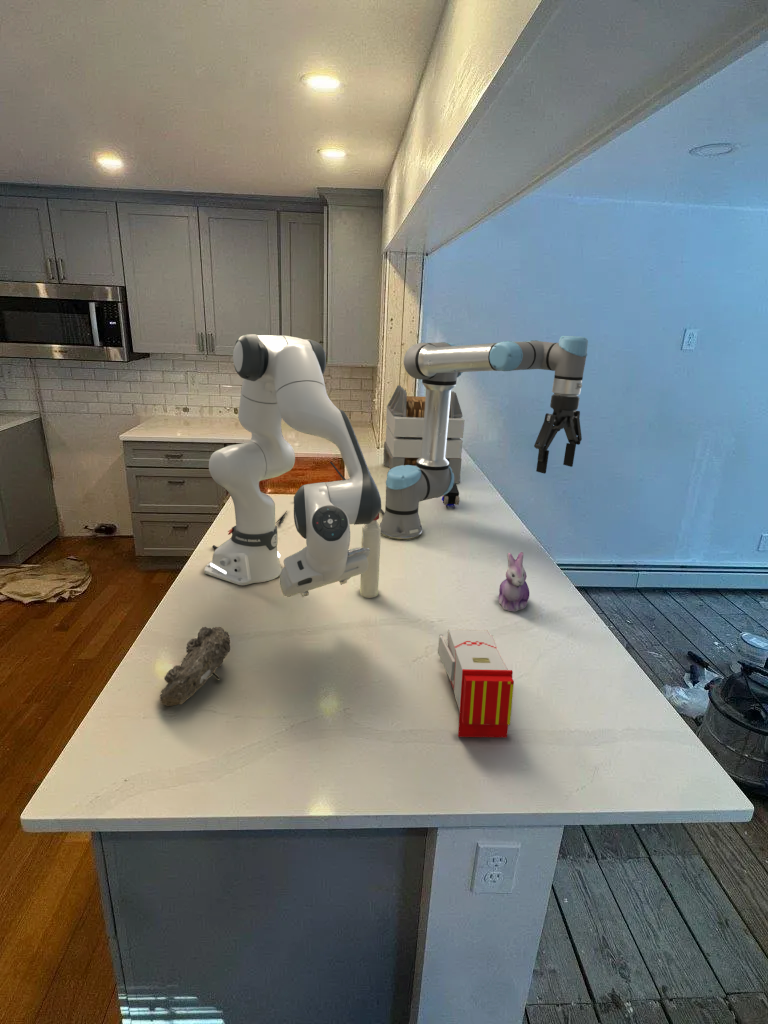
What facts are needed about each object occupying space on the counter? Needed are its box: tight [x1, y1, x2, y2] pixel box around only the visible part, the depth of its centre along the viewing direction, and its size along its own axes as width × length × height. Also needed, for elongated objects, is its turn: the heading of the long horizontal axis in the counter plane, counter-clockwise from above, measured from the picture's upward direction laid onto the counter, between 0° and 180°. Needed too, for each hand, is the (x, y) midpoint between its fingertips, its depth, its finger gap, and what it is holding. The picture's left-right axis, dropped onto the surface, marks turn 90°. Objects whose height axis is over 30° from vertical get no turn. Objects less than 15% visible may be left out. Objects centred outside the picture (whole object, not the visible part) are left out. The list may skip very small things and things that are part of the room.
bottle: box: [359, 520, 382, 599], centre depth 153 cm, size 5×5×24 cm
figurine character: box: [441, 483, 460, 509], centre depth 231 cm, size 7×8×15 cm
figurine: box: [497, 551, 530, 612], centre depth 152 cm, size 9×10×15 cm
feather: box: [275, 510, 288, 528], centre depth 213 cm, size 2×28×2 cm
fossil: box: [159, 626, 232, 707], centre depth 118 cm, size 22×10×15 cm
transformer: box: [383, 384, 465, 484], centre depth 268 cm, size 34×33×41 cm
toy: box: [437, 628, 515, 738], centre depth 117 cm, size 12×13×30 cm
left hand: (323, 587), depth 133 cm, fingers open, 8 cm apart
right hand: (554, 469), depth 164 cm, fingers open, 13 cm apart
